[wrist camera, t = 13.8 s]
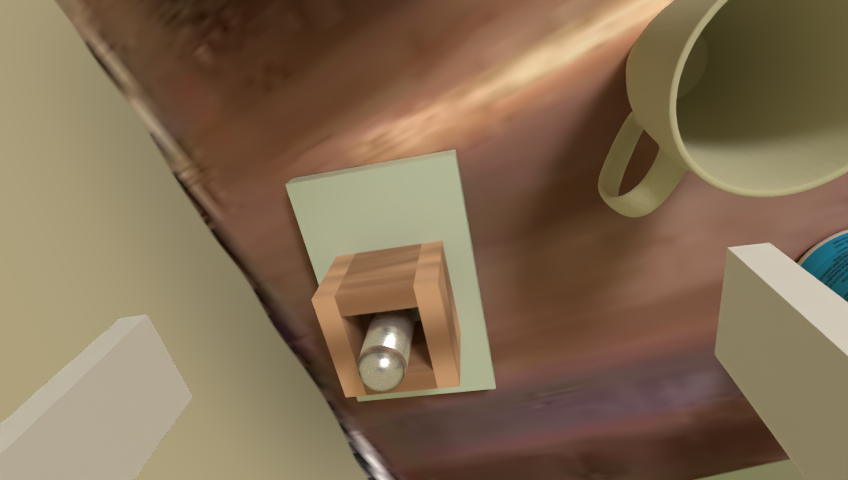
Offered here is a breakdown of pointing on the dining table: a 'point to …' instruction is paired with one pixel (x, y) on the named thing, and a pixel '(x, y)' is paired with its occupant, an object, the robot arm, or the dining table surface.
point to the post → (387, 349)
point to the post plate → (400, 237)
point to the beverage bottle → (829, 263)
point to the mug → (736, 100)
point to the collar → (384, 291)
